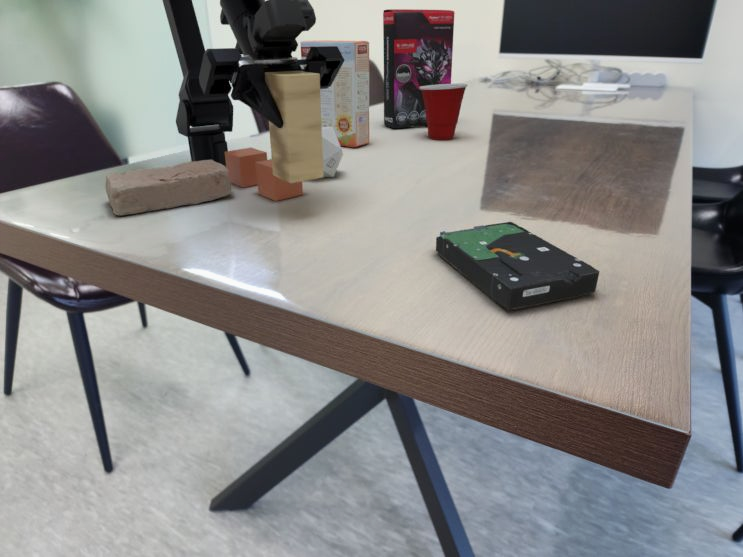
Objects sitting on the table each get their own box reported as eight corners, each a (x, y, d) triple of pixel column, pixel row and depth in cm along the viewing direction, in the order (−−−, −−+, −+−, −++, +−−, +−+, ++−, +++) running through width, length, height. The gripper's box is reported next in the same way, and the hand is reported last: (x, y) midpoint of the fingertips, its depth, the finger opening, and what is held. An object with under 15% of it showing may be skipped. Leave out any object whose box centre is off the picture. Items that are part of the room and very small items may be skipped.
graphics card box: (392, 130, 128) (395, 8, 116) (380, 125, 134) (381, 9, 122) (449, 125, 135) (457, 9, 122) (436, 121, 140) (442, 10, 128)
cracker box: (370, 143, 113) (370, 40, 104) (355, 148, 108) (354, 41, 99) (320, 137, 120) (316, 39, 110) (304, 141, 115) (299, 40, 106)
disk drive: (596, 296, 50) (508, 240, 62) (603, 270, 48) (511, 219, 60) (507, 315, 46) (432, 252, 58) (511, 288, 45) (434, 230, 57)
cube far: (228, 181, 85) (224, 151, 83) (254, 176, 88) (251, 147, 86) (242, 187, 82) (239, 156, 80) (269, 182, 85) (266, 152, 83)
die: (323, 188, 84) (354, 136, 83) (276, 160, 83) (307, 107, 83) (327, 192, 92) (355, 144, 92) (284, 166, 92) (312, 118, 91)
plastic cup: (431, 131, 126) (434, 80, 121) (471, 136, 121) (475, 83, 115) (408, 138, 118) (410, 84, 113) (449, 144, 113) (453, 87, 107)
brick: (117, 218, 69) (109, 184, 67) (107, 202, 75) (100, 170, 73) (235, 199, 77) (231, 168, 75) (217, 186, 83) (214, 157, 81)
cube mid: (258, 193, 79) (255, 162, 77) (285, 187, 82) (282, 157, 80) (275, 201, 76) (272, 168, 73) (303, 194, 79) (301, 162, 76)
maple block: (272, 175, 69) (264, 72, 63) (304, 169, 71) (299, 70, 66) (290, 183, 65) (283, 75, 59) (323, 177, 68) (319, 73, 62)
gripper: (192, -32, 55) (246, 84, 53) (335, -23, 65) (386, 75, 63) (180, 44, 65) (225, 147, 62) (306, 42, 75) (350, 130, 72)
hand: (300, 123), depth 64 cm, fingers closed on maple block, 5 cm apart
